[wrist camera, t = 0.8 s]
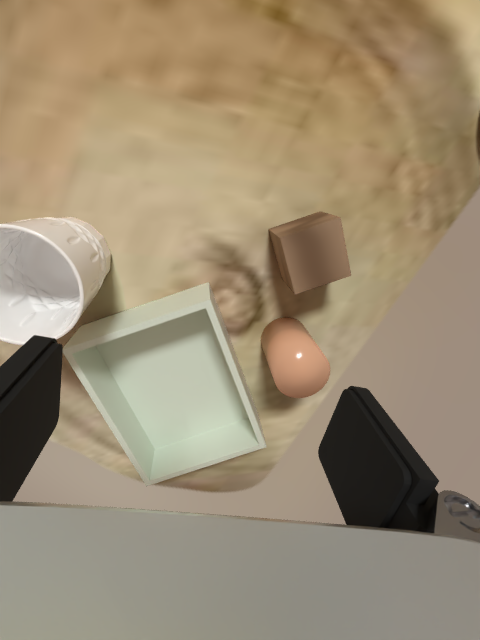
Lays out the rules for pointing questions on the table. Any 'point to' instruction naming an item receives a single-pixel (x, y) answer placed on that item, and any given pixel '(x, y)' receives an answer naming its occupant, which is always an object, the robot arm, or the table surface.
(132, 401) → the tote
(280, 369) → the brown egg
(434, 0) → the table surface
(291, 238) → the cube
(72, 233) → the white cup
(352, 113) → the table surface
